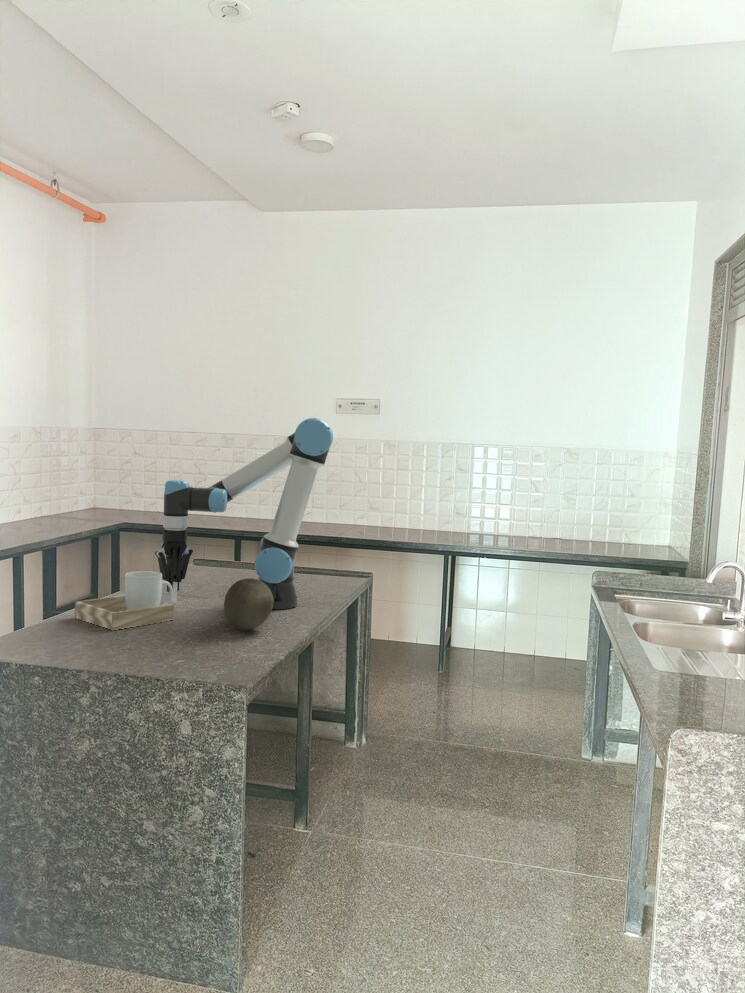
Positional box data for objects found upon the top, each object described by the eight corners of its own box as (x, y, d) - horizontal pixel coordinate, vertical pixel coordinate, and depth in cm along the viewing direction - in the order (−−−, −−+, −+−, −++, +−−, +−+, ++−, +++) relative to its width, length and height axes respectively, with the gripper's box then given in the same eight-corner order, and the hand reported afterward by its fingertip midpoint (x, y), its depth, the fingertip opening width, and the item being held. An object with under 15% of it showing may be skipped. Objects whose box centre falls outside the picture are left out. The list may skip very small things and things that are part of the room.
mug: (164, 609, 236) (165, 569, 235) (179, 616, 228) (180, 574, 227) (118, 614, 227) (119, 572, 226) (132, 621, 218) (133, 578, 217)
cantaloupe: (225, 636, 205) (226, 583, 204) (221, 624, 219) (223, 575, 218) (275, 635, 209) (277, 583, 208) (268, 623, 223) (270, 574, 222)
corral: (173, 620, 222) (173, 604, 221) (113, 631, 206) (113, 613, 206) (133, 608, 235) (134, 593, 235) (74, 618, 219) (75, 601, 219)
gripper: (185, 526, 240) (182, 597, 242) (150, 528, 230) (148, 602, 232) (199, 529, 235) (196, 601, 237) (164, 531, 226) (162, 606, 227)
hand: (172, 601), depth 234 cm, fingers closed
